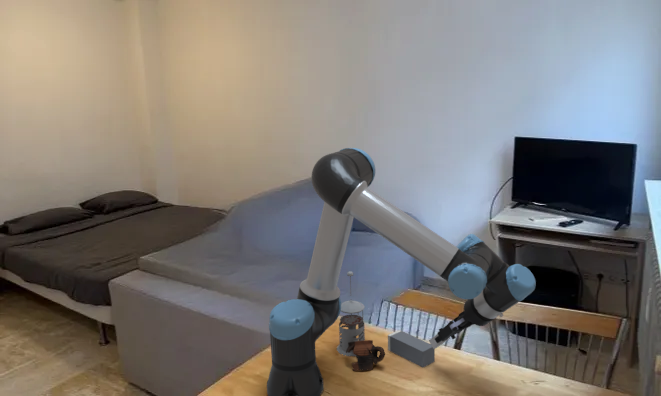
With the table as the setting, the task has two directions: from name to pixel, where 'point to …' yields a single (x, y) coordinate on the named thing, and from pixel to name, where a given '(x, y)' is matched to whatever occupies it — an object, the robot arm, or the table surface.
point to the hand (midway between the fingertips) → (433, 343)
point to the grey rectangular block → (411, 348)
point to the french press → (350, 324)
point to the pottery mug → (365, 354)
